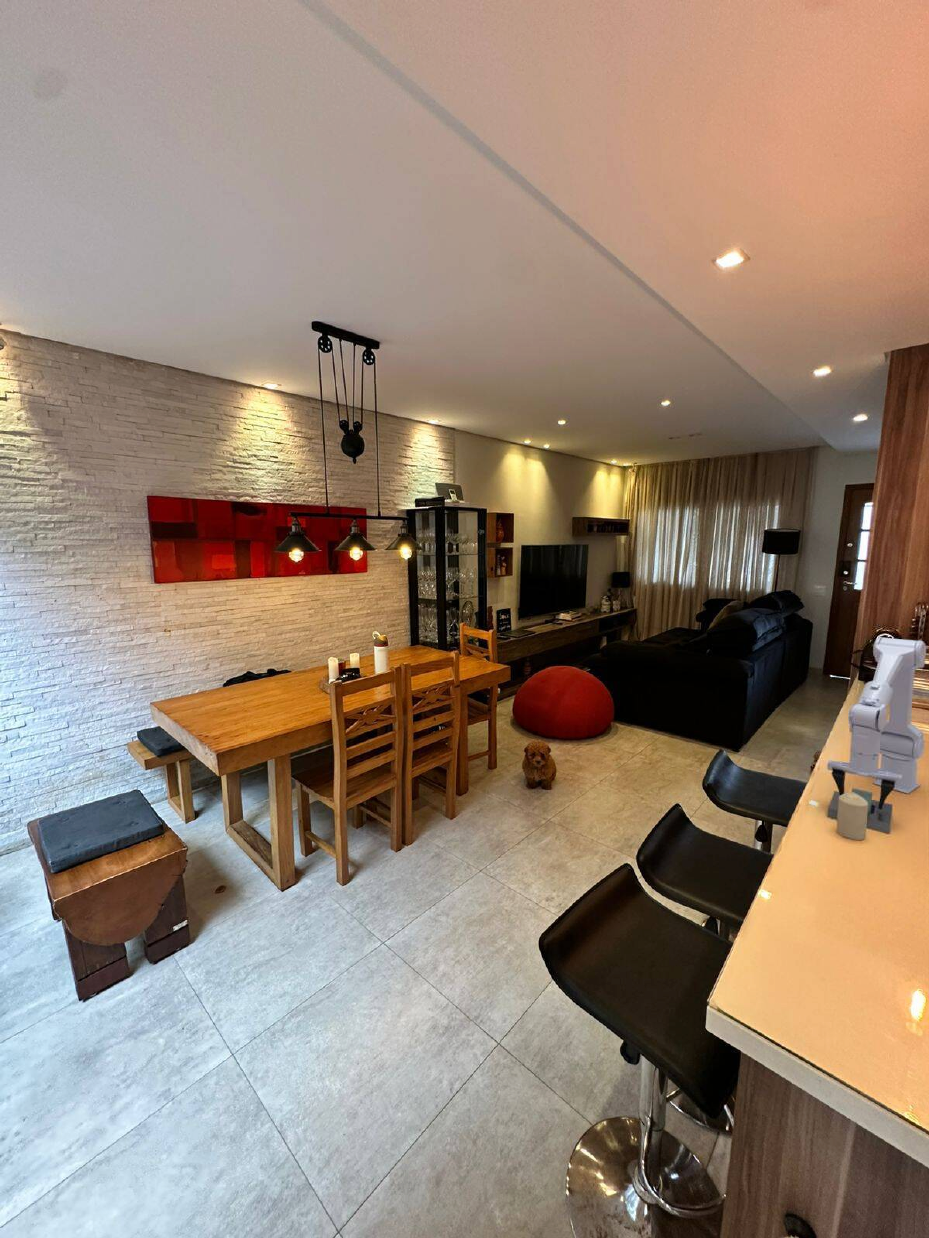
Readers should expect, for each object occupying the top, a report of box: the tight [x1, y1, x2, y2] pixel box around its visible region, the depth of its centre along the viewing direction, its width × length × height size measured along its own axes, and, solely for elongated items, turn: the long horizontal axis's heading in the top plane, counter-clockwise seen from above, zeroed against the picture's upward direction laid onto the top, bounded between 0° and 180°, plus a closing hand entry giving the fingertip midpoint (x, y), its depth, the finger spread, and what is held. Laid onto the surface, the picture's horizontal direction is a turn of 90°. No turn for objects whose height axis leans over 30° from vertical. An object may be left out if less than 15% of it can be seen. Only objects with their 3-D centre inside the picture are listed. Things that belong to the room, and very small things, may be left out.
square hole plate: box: [827, 790, 893, 834], centre depth 127 cm, size 12×12×2 cm
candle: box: [836, 791, 868, 841], centre depth 119 cm, size 6×6×10 cm
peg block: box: [850, 787, 873, 813], centre depth 127 cm, size 4×4×6 cm
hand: (860, 802), depth 127 cm, fingers open, 7 cm apart
